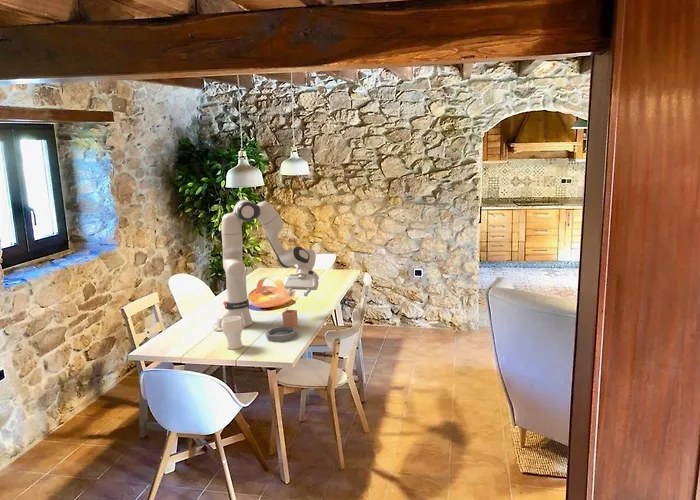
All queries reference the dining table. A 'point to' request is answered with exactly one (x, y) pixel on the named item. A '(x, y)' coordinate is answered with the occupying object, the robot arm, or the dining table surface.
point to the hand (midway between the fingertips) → (297, 295)
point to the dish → (281, 334)
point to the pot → (290, 318)
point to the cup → (232, 331)
